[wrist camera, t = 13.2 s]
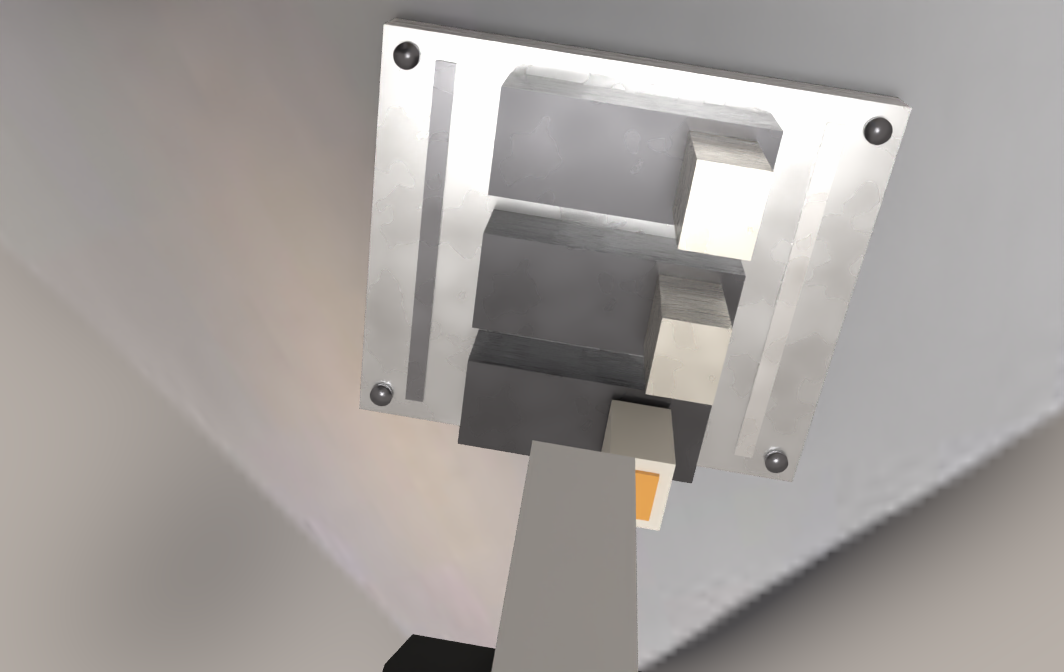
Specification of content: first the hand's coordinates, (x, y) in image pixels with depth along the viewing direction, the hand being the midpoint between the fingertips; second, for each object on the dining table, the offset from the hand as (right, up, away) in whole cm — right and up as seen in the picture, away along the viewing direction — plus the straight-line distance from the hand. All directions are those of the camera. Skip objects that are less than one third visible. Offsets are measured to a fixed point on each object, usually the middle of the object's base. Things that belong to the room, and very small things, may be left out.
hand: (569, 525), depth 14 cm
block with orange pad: (+4, -1, +24) cm, 24 cm away
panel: (+3, +6, +26) cm, 27 cm away
